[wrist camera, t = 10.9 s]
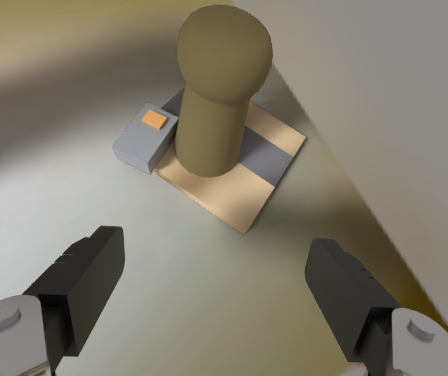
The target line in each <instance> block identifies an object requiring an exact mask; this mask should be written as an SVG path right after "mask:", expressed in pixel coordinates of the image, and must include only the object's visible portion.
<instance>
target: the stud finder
mask: <svg viewBox="0 0 448 376" xmlns="http://www.w3.org/2000/svg"><path fill="white" fill-rule="evenodd" d="M178 121H179V117H176V116H174V115H172V114H170V113H168V112H166V111H164V110H162V109H159V108H157V107H155V106H153V105H151V104H149V103H146V104H145V106H144V107H143V108H142V109H141V110H140V112H139V113H138V114H137V115H136V117H135V118H134V119H133V120H132V122H131V123H130V124H129V125H128V127H127V128H126V129H125V130H124V131H123V133H122V134H121V135H120V136H119V138H118V139H117V140H116V141H115V143H114V144H113V145H112V146H111V147H112V149H113V151H114V153H115V155H116V157H117V159H118V160H120V161H122V162H124V163H126V164H128V165H130V166H132V167H135V168H137V169H139V170H141V171H143V172H145V173H147V174H149V175H151V173H152V172H153V170H154V169H155V167H156V166H157V164H158V163H159V161H160V160H161V158H162V157H163V155H164V154H165V152H166V151H167V149H168V148H169V146H170V145H171V143H172V142H173V140H174V139H175V137H176V132H177V126H178Z"/></svg>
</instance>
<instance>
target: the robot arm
mask: <svg viewBox="0 0 448 376" xmlns="http://www.w3.org/2000/svg"><path fill="white" fill-rule="evenodd" d="M124 264H125V252H124V236H123V229H122V227H118V226H100V227H99V228H98V229H97V230H96V231H95V232H94V233H93V234H92V235H91V237H90V238H89V237H84V238H83V239H81V240H79V241H77V242H76V243H74V244H72V245H71V246H70V247H69V248H68V249H67V250H66V251H65V252H64V253H63V254H62V256H60V257H59V258H58V259H57V260H56V261H55V262H54V264H52V265H51V266H50V267H49V268H48V269H47V270H46V271H45V272H44V273H43V274H42V275H41V276H40V277H39V278H38V279H37V280H36V281H35V282H34V283H33V284H32V285H31V286H30V287H29V288H28V289H27V290H26V291H25V292H24V293H23V294H22V295H17V296H12V297H9V298H5V299H2V300H0V376H57V373H56V368H57V366H58V365H59V363H60V361H61V359H62V358H63V356H71V357H78V356H79V354H80V352H81V350H82V348H83V346H84V344H85V342H86V341H87V339H88V337H89V335H90V333H91V331H92V329H93V327H94V326H95V324H96V322H97V320H98V318H99V316H100V314H101V312H102V311H103V309H104V307H105V305H106V303H107V301H108V299H109V297H110V296H111V294H112V292H113V290H114V288H115V286H116V284H117V282H118V281H119V279H120V277H121V275H122V272H123V269H124ZM305 279H306V282H307V284H308V286H309V288H310V290H311V292H312V294H313V296H314V298H315V300H316V302H317V304H318V305H319V307H320V309H321V311H322V313H323V315H324V317H325V319H326V321H327V323H328V324H329V326H330V328H331V330H332V332H333V334H334V336H335V338H336V340H337V342H338V344H339V345H340V347H341V349H342V351H343V353H344V355H345V357H346V359H347V361H348V362H363V363H364V365H365V366H366V368H367V369H366V371H365V374H364V376H448V333H447V332H446V331H445V330H444V329H443V328H442V327H441V326H440V325H439V324H437V323H436V322H435V321H433V320H432V319H430V318H429V317H427V316H425V315H423V314H421V313H419V312H417V311H414V310H411V309H406V308H402V307H401V306H400V305H399V304H398V302H397V301H396V300H395V299H394V298H393V297H392V296H391V295H390V294H389V293H388V292H387V291H386V290H385V289H384V287H383V286H382V285H381V284H380V283H379V282H378V281H377V280H376V279H374V277H373V276H372V275H371V273H370V272H369V271H367V269H366V268H365V267H364V266H363V265H362V264H361V263H360V262H359V261H358V260H357V259H356V258H354V257H353V256H351V255H350V254H348V253H347V252H345V251H344V250H343V249H342V248H341V247H340V246H339V245H338V244H337V243H336V241H335V240H333V239H317V238H316V239H314V240H313V241H312V244H311V247H310V251H309V255H308V259H307V263H306V266H305Z"/></svg>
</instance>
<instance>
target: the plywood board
mask: <svg viewBox="0 0 448 376" xmlns="http://www.w3.org/2000/svg"><path fill="white" fill-rule="evenodd" d="M184 89H185V87H184V88H183V89H182V90H181V91H180V92H179V93H178V94H177V95H176V96H174V97H173V98H172V99H171V100H170V101H169V102H168V103H167V104H165V105H164V106H163V107H162V108H161V109H162V110H164V111H166V112H168V113H170V114H172V115H174V116H176V117H179V116H180V110H181V105H182V100H183V94H184ZM305 138H306V137H305V136H303V135H302V134H300V133H299V132H297V131H295V130H294V129H292V128H291V127H289V126H288V125H286V124H284V123H283V122H281V121H280V120H278V119H277V118H275V117H274V116H272V115H270V114H269V113H267V112H266V111H264V110H263V109H261V108H259V107H258V106H256V105H255V104H253V103H252V102H250V103H249V108H248V113H247V118H246V124H245V129H244V134H243V139H242V144H241V150H240V155H239V158H238V161H237V163H236V165H235V166H234V167H233V168H232V169H231V170H230V171H229V172H227V173H225V174H223V175H221V176H217V177H211V178H209V177H200V176H197V175H195V174H193V173H190V172H189V171H187V170H186V169H185V168H184V167H182V166H181V164H180V163H179V161H178V160H177V158H176V156H175V151H174V143H175V139H174V140H173V142H172V143H171V145H170V146H169V148H168V149H167V151H166V152H165V154H164V155H163V157H162V158H161V160H160V161H159V163H158V164H157V166H156V167H155V169H154V170H153V172H154V173H156V174H157V175H159V176H160V177H161V178H163V179H164V180H166V181H167V182H169V183H170V184H171V185H173V186H174V187H176V188H177V189H179V190H180V191H181V192H183V193H184V194H186V195H187V196H188V197H190V198H191V199H193V200H194V201H196V202H197V203H198V204H200V205H201V206H203V207H204V208H206V209H207V210H208V211H210V212H211V213H213V214H214V215H215V216H217V217H218V218H220V219H221V220H223V221H224V222H225V223H227V224H228V225H230V226H231V227H232V228H234V229H235V230H237V231H238V232H240V233H241V234H242V235H243V234H245V233H246V232H247V230H248V229H249V227H250V226H251V224H252V222H253V221H254V219H255V218H256V216H257V214H258V213H259V211H260V210H261V208H262V207H263V205H264V203H265V202H266V200H267V199H268V197H269V195H270V194H271V192H272V191H273V189H274V187H275V186H276V184H277V183H278V181H279V179H280V178H281V176H282V175H283V173H284V171H285V170H286V168H287V167H288V165H289V163H290V162H291V160H292V159H293V157H294V155H295V154H296V152H297V151H298V149H299V147H300V146H301V144H302V143H303V141H304V139H305Z"/></svg>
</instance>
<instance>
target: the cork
mask: <svg viewBox="0 0 448 376" xmlns="http://www.w3.org/2000/svg"><path fill="white" fill-rule="evenodd" d="M176 51H177V61H178V65H179V68H180V72H181V75H182V78H183V79H184V81H185V82H186V83H185V89H184V94H183V100H182V105H181V110H180V116H179V121H178V126H177V132H176V137H175V143H174V151H175V156H176V158H177V160H178V161H179V163H180V164H181V166H182V167H184V168H185V169H186V170H187V171H189V172H190V173H193V174H195V175H197V176H200V177H209V178H211V177H217V176H221V175H223V174H225V173H227V172H229V171H230V170H231V169H232V168H233V167H234V166H235V165H236V163H237V161H238V158H239V155H240V150H241V144H242V139H243V134H244V129H245V124H246V118H247V113H248V108H249V103H250V98H251V97H252V96H253V95H254V94H255V93H256V92H257V91H258V90H259V89H260V88H261V87H262V85H263V84H264V82H265V80H266V77H267V75H268V73H269V70H270V68H271V65H272V57H273V53H272V43H271V38H270V35H269V34H268V31H267V29H266V28H265V27H264V25H263V24H262V23H261V22H260V21H259V20H258V19H257V18H255V17H254V16H252V15H251V14H250V13H248V12H246V11H244V10H242V9H239V8H237V7H233V6H228V5H211V6H207V7H202V8H199V9H198V10H196V11H194V12H192V13H191V14H190V16H189V17H188V18H187V19H186V21H185V22H184V24H183V25H182V27H181V29H180V33H179V37H178V42H177V47H176Z"/></svg>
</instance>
